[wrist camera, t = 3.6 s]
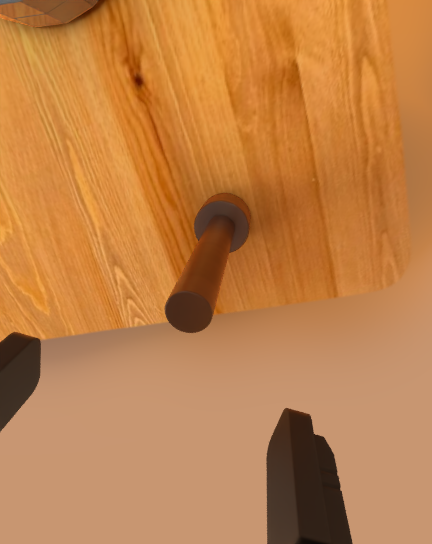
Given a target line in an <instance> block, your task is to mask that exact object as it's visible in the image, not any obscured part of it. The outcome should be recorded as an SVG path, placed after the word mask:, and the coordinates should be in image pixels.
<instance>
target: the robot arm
mask: <svg viewBox="0 0 432 544" xmlns="http://www.w3.org/2000/svg"><path fill="white" fill-rule="evenodd" d="M40 354H41V343H40V339H38V338H35V337H31V336H28V335H24V334H21V333H17V332H13V333H11V334H10V335H8V336H7V337H6V338H5V339H4V340H3V341H1V342H0V431H1V430H2V429H3V428H4V427H5V426H6V424H7V423H8V422H9V421H10V420H11V418H12V417H13V416H14V415H15V413H16V412H17V411H18V410H19V409H20V408H21V406H22V405H23V404H24V403H25V401H26V400H27V399H28V398H29V397H30V396H31V394H32V393H33V392H34V390H35V388H36V386H37V384H38V381H39V378H40ZM267 544H352V539H351V535H350V529H349V525H348V520H347V516H346V510H345V506H344V501H343V496H342V491H340V482H339V477H338V476H337V467H336V463H335V458H334V454H333V452H332V450H331V448H330V447H329V445H328V444H327V442H326V440H325V438H324V437H322V436H319V435H315V434H314V432H313V426H312V419H311V416H310V415H309V414H306V413H303V412H299V411H295V410H292V409H288V408H285V409H284V411H283V413H282V415H281V417H280V419H279V422H278V424H277V426H276V428H275V430H274V433H273V435H272V437H271V440H270V442H269V446H268V451H267Z"/></svg>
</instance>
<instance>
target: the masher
mask: <svg viewBox="0 0 432 544" xmlns="http://www.w3.org/2000/svg"><path fill="white" fill-rule="evenodd" d="M249 227H250V212H249V209H248V207H247V205H246V204H245V203H244V201H243V200H241V199H240V198H239V197H237V196H235V195H233V194H228V193H221V194H217V195H214V196H212V197H211V198H209V199H208V200H207V201H206V202H205V204H204V205H203V206H202V208H201V209H200V211H199V212H198V214H197V216H196V218H195V223H194V230H195V234H196V237H197V239H198V241H199V242H198V243H197V245H196V247H195V249H194V251H193V253H192V255H191V257H190V258H189V260H188V262H187V264H186V266H185V268H184V270H183V272H182V274H181V275H180V277H179V279H178V281H177V283H176V285H175V287H174V289H173V290H172V292H171V294H170V296H169V298H168V300H167V302H166V305H165V314H166V317H167V319H168V321H169V323H171V325H172V326H173V327H175V328H176V329H178V330H180V331H183V332H186V333H196V332H199V331H202V330H203V329H205V328H206V327H207V326H208V325H209V324H210V322H211V319H212V316H213V312H214V309H215V305H216V301H217V297H218V293H219V290H220V286H221V282H222V278H223V274H224V270H225V267H226V263H227V259H228V255H229V253H231V252H234V251H236V250H237V249H239V248H240V247H241V246H242V245H243V244H244V243H245V241H246V239H247V237H248V233H249Z"/></svg>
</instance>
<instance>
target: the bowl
mask: <svg viewBox="0 0 432 544" xmlns="http://www.w3.org/2000/svg"><path fill="white" fill-rule="evenodd" d="M97 2H98V0H0V18H3V19H5V20H9V21H13V22H17V23H21V24H24V25H28V26H32V27H43V26H51V25H58V24H65V23H68V22H70V21H71V20H73V19H75V18H76V17H78V16H80V15H81V14H83V13H84V12H86V11H88V10H89V9H91V8H92V7H94V6H95V4H96V3H97Z"/></svg>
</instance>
